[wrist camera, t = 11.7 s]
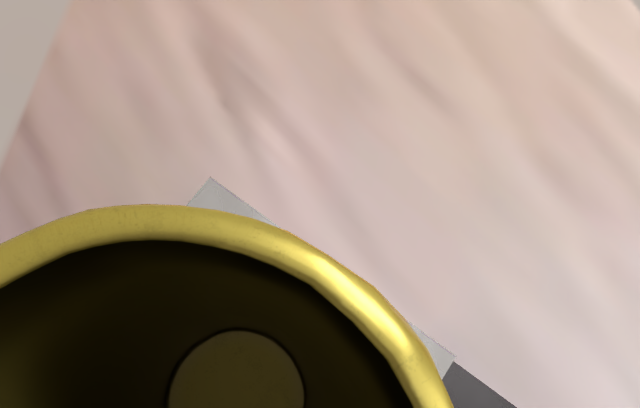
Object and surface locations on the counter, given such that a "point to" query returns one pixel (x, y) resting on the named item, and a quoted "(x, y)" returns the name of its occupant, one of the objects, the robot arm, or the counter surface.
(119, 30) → the counter surface
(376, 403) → the vase
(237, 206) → the grey tray
